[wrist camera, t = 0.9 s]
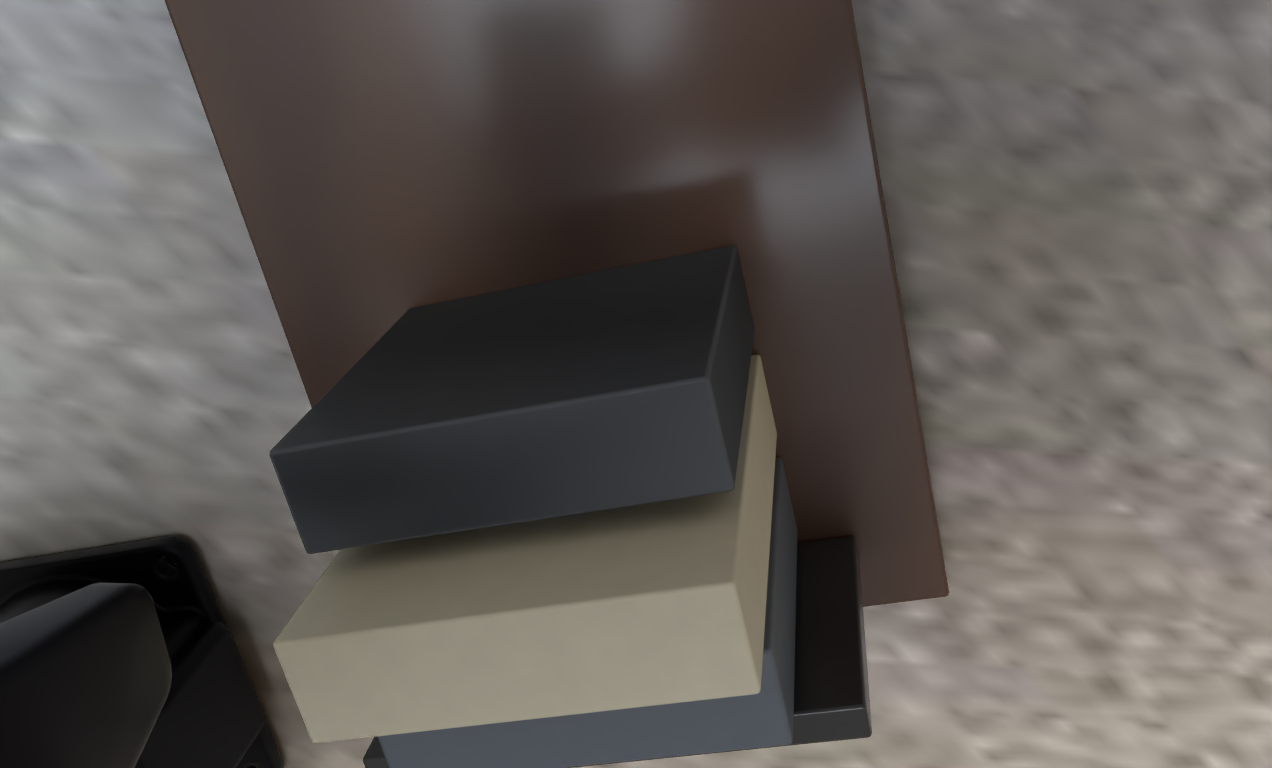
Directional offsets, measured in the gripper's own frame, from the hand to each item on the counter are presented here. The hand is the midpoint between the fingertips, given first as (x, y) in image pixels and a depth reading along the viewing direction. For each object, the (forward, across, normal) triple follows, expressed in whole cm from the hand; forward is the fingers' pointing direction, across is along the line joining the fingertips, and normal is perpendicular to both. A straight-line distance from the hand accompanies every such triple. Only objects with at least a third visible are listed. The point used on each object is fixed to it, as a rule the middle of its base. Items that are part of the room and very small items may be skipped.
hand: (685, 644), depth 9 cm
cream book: (+12, +3, +4) cm, 12 cm away
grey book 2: (+12, +3, +2) cm, 12 cm away
